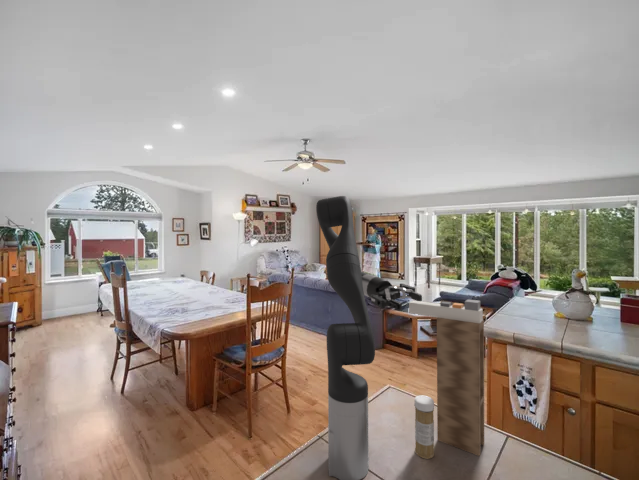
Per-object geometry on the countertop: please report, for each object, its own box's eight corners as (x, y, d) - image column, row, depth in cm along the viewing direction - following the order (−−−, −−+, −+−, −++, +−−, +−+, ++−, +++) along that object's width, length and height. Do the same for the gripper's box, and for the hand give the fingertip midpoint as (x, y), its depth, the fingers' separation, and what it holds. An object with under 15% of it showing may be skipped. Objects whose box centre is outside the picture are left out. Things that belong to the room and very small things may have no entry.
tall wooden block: (437, 440, 82) (436, 318, 82) (444, 429, 86) (443, 313, 86) (479, 456, 76) (478, 324, 75) (484, 443, 80) (483, 319, 80)
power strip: (409, 313, 87) (409, 295, 87) (413, 310, 90) (413, 293, 90) (479, 323, 76) (479, 303, 76) (482, 320, 79) (482, 300, 79)
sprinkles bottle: (421, 444, 80) (421, 392, 80) (438, 454, 76) (437, 399, 76) (411, 452, 77) (410, 398, 77) (427, 462, 73) (427, 406, 73)
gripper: (357, 282, 101) (393, 298, 88) (389, 271, 108) (427, 284, 95) (358, 303, 103) (394, 322, 90) (390, 291, 110) (427, 306, 97)
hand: (411, 302), depth 92 cm, fingers open, 8 cm apart
